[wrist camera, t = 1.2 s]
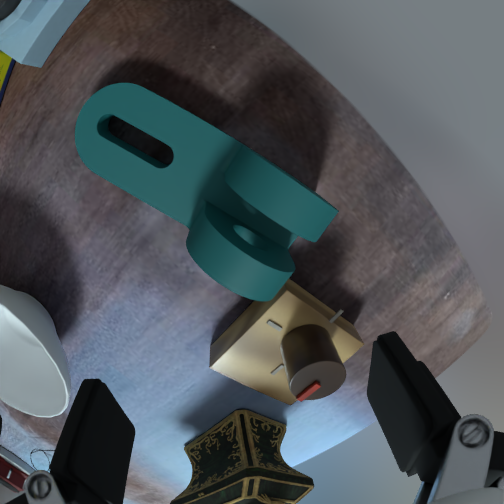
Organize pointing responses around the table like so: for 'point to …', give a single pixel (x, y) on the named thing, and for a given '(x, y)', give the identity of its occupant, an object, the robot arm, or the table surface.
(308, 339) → the dial
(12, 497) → the soap bottle
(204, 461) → the decorative box
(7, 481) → the gramophone
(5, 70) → the supplement box
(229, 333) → the dial panel
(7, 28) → the push button box
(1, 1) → the button
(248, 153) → the bracket
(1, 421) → the headphones
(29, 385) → the bowl
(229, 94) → the table surface
